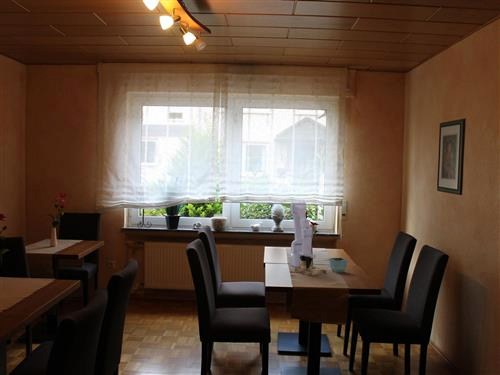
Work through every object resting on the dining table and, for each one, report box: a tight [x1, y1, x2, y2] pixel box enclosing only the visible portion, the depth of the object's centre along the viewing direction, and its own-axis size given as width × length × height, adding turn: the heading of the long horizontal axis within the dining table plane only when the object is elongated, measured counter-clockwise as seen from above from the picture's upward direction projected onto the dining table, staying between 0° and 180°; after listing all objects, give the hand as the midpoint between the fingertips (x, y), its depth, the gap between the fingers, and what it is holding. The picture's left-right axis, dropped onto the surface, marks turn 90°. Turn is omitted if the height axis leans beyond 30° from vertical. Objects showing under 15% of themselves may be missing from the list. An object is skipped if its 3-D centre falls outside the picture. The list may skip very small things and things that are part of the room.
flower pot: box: [329, 257, 348, 273], centre depth 308 cm, size 9×9×9 cm
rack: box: [294, 266, 327, 277], centre depth 303 cm, size 14×14×3 cm
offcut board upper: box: [309, 267, 323, 273], centre depth 300 cm, size 4×8×1 cm, turn 136°
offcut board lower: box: [308, 271, 324, 276], centre depth 300 cm, size 5×10×1 cm, turn 129°
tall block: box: [299, 260, 314, 271], centre depth 306 cm, size 2×9×6 cm, turn 129°
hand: (306, 267), depth 306 cm, fingers closed on tall block, 2 cm apart
